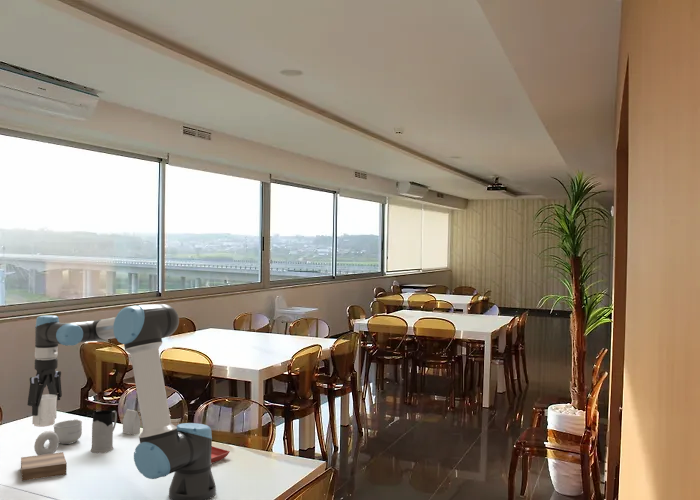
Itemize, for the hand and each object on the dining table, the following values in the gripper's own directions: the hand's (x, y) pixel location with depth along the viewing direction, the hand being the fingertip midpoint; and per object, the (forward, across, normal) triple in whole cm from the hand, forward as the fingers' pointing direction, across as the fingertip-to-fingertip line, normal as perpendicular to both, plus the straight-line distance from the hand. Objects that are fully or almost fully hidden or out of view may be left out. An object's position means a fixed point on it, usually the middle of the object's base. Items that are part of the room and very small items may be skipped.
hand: (44, 421), depth 221 cm
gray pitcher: (+18, +30, -5) cm, 36 cm away
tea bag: (+19, +52, -4) cm, 55 cm away
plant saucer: (+19, +26, -48) cm, 58 cm away
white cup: (+1, 0, 0) cm, 1 cm away
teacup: (+19, +34, +14) cm, 41 cm away
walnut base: (+18, 0, 0) cm, 18 cm away
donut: (+18, +14, +10) cm, 25 cm away
